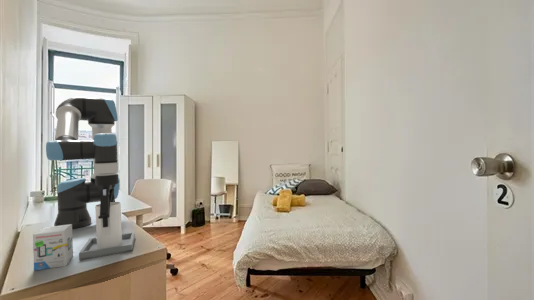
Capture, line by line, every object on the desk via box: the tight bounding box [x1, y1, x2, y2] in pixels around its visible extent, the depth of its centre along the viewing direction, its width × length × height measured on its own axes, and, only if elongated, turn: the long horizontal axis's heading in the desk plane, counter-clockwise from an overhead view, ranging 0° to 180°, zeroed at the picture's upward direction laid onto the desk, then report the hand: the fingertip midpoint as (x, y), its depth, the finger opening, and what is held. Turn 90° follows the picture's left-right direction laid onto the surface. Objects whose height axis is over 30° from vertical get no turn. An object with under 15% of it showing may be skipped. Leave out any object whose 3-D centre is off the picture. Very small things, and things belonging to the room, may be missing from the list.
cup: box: [94, 201, 123, 249], centre depth 100 cm, size 8×8×16 cm
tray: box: [78, 231, 136, 261], centre depth 100 cm, size 16×16×2 cm
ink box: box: [32, 224, 74, 271], centre depth 87 cm, size 9×8×12 cm
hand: (109, 230), depth 100 cm, fingers open, 12 cm apart
